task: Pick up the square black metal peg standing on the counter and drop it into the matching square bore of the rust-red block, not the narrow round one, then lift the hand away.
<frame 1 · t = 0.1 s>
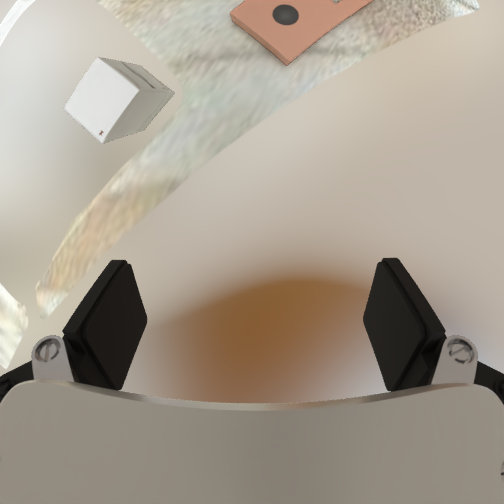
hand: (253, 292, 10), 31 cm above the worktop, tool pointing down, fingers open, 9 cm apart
bore block: (305, 5, 26), on the worktop
supplement box: (142, 97, 33), on the worktop
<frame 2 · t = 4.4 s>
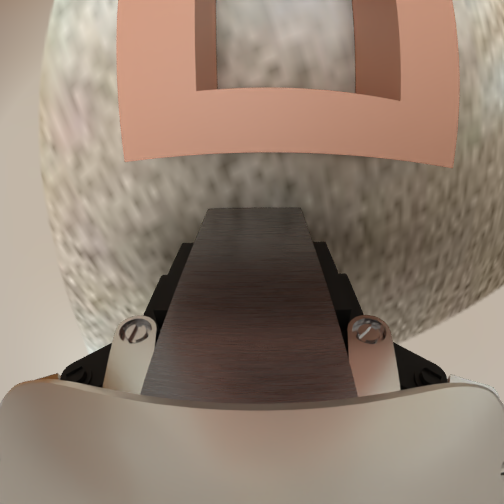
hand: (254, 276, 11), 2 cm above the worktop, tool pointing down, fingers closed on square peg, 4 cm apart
square peg: (255, 248, 13), on the worktop, touching gripper
when the fingers open (5 cm above the worktop, at t = 9.6 s): square peg drops 2 cm, resting in bore block.
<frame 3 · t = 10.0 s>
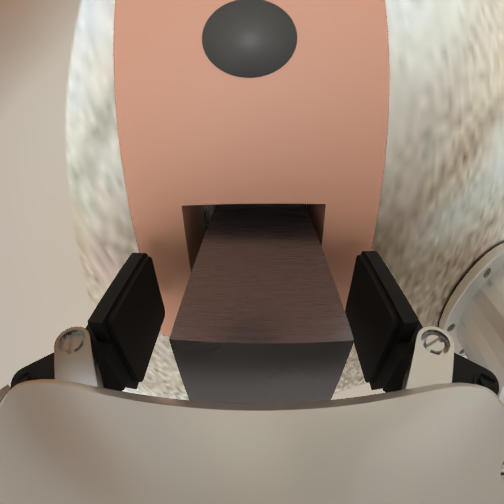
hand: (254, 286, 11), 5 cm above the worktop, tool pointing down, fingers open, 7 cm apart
bore block: (253, 142, 13), on the worktop
square peg: (260, 225, 15), resting in bore block
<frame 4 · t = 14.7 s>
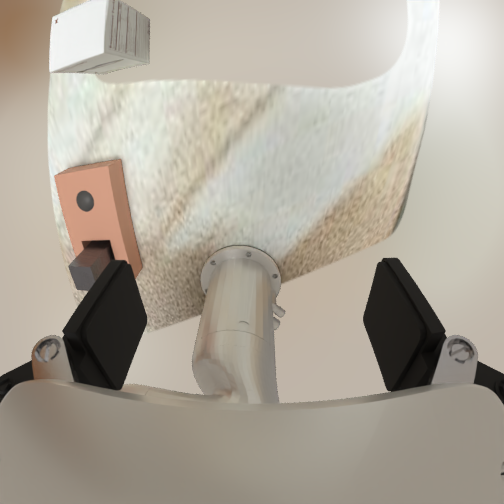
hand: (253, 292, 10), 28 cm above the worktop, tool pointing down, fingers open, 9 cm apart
bore block: (104, 218, 40), on the worktop
supplement box: (127, 46, 27), on the worktop
square peg: (111, 243, 42), resting in bore block
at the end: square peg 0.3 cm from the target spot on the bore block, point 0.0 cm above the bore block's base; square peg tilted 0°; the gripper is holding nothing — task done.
